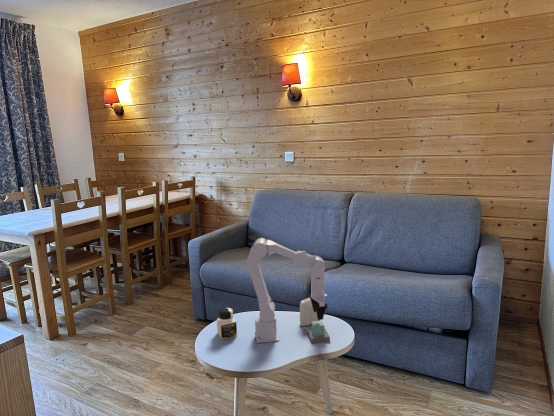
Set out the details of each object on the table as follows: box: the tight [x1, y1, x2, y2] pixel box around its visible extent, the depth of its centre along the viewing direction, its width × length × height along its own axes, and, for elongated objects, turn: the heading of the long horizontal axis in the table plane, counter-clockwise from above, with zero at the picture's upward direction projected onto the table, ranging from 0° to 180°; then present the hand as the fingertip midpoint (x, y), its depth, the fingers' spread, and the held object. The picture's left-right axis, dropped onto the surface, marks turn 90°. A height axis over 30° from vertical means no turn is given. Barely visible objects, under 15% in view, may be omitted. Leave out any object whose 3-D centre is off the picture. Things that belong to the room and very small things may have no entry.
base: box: [306, 327, 331, 344], centre depth 165 cm, size 8×8×2 cm
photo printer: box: [299, 297, 321, 327], centre depth 178 cm, size 10×4×12 cm, turn 119°
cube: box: [311, 320, 325, 336], centre depth 165 cm, size 4×4×4 cm
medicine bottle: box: [216, 307, 238, 341], centre depth 169 cm, size 7×7×12 cm
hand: (318, 315), depth 164 cm, fingers open, 7 cm apart
